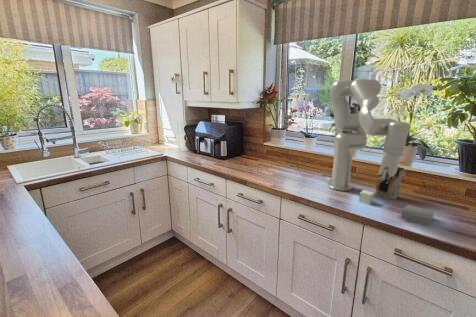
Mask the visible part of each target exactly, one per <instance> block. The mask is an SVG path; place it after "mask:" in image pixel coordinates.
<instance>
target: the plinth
mask: <svg viewBox="0 0 476 317" xmlns="http://www.w3.org/2000/svg"><path fill="white" fill-rule="evenodd" d="M400 214H401V215H400V218H402V219H405V220H408V221H411V222H415V223H418V224H422V225H424V226H428V227H429V226H430V225H431V222H432V221H433V220H434V215H435V211H433V210H429V209H425V208H421V207H418V206H413V205H410V204H407V205H406V206H405V207H404V209H402V211H401V213H400Z"/></svg>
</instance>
